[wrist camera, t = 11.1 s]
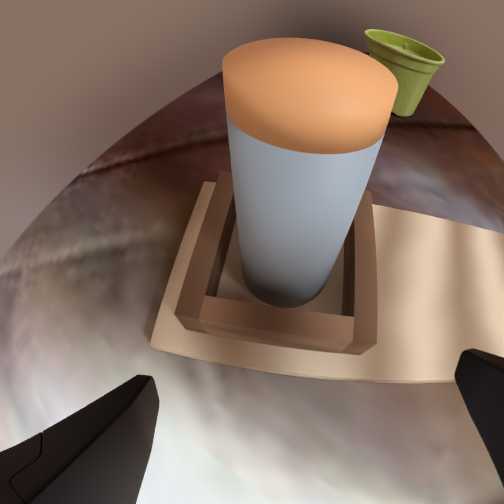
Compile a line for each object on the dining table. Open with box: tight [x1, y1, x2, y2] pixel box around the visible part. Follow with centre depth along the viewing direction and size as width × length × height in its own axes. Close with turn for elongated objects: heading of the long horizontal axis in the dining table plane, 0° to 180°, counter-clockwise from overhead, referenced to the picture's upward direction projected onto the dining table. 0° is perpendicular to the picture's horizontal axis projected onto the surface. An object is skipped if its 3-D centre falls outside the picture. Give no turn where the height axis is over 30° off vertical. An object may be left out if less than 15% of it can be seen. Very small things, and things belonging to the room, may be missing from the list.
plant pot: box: [365, 29, 445, 116], centre depth 26 cm, size 9×9×9 cm
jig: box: [149, 171, 504, 383], centre depth 16 cm, size 26×12×4 cm, turn 80°
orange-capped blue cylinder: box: [222, 38, 398, 308], centre depth 12 cm, size 5×5×12 cm
